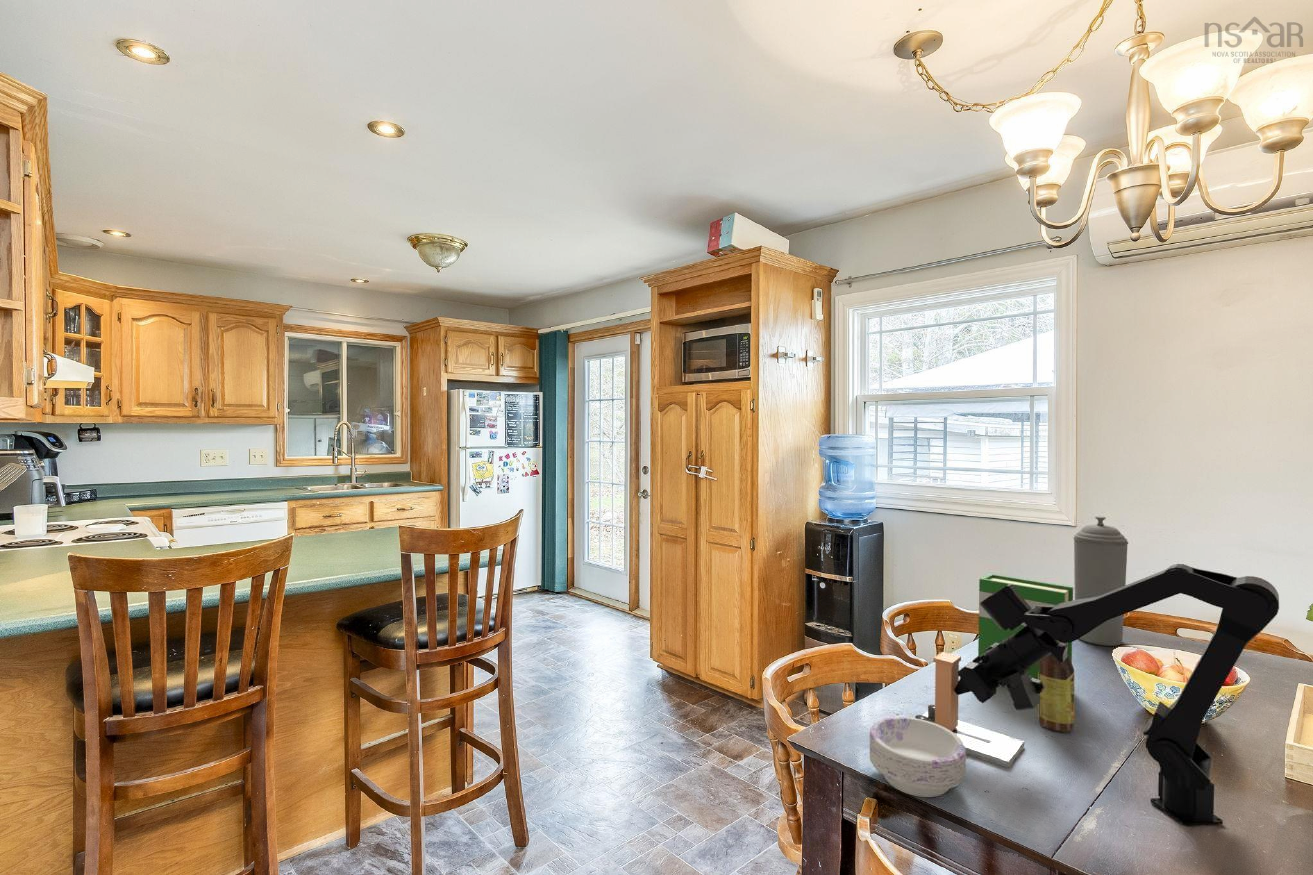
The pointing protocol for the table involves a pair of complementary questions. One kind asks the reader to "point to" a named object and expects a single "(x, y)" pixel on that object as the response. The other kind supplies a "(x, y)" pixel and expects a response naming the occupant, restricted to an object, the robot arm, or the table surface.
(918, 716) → the fader console
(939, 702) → the fader tab
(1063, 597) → the hardback book
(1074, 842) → the table surface
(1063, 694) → the sauce bottle
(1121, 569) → the canister
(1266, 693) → the table surface
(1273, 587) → the robot arm
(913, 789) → the paper bowls
